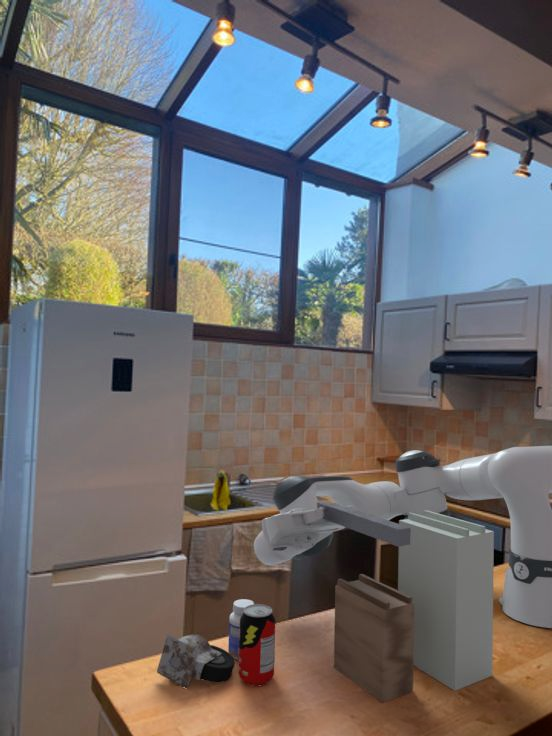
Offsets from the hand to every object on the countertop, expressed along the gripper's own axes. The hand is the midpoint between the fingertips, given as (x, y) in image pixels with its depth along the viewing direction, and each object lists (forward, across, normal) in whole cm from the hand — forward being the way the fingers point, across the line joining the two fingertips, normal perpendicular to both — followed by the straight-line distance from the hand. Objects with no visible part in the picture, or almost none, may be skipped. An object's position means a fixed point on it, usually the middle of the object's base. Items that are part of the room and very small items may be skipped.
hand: (332, 509), depth 107 cm
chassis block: (-4, 0, -30) cm, 30 cm away
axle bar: (+6, 0, -6) cm, 8 cm away
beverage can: (-12, +18, -25) cm, 33 cm away
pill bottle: (-20, +16, -20) cm, 33 cm away
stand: (-1, -16, -31) cm, 35 cm away
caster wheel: (-18, +26, -22) cm, 38 cm away
